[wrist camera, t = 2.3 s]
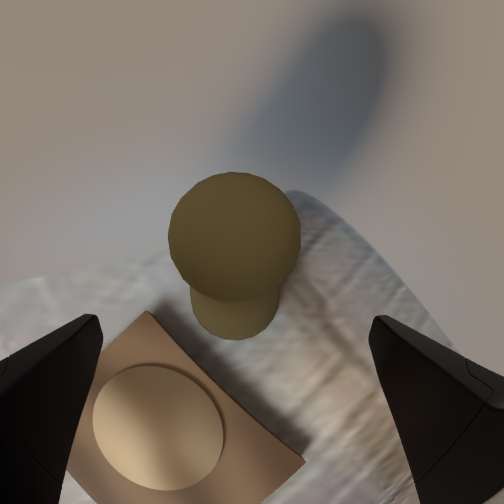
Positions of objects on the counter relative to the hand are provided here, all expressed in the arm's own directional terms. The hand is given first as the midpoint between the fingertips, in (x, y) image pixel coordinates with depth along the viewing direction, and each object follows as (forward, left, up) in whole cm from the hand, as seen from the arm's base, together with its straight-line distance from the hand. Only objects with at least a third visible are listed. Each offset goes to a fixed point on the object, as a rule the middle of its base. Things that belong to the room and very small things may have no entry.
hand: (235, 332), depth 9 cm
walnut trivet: (-9, -1, -11) cm, 14 cm away
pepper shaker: (+3, +3, -11) cm, 12 cm away
